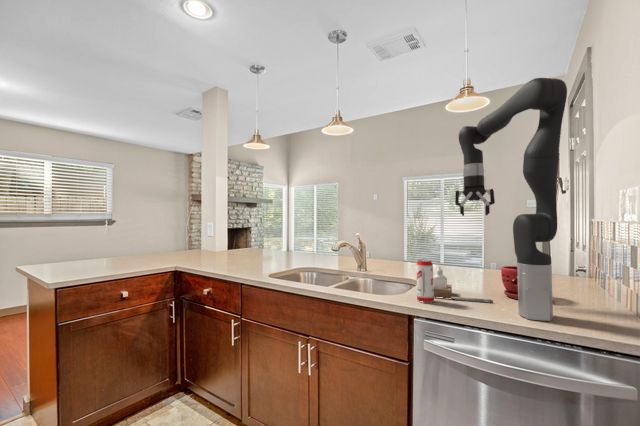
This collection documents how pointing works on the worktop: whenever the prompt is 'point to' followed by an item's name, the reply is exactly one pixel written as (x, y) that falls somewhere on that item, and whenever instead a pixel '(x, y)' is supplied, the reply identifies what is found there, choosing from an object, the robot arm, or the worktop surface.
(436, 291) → the hammer
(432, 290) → the beer can
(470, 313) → the worktop surface
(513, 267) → the plant pot
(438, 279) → the eye dropper bottle
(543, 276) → the robot arm
